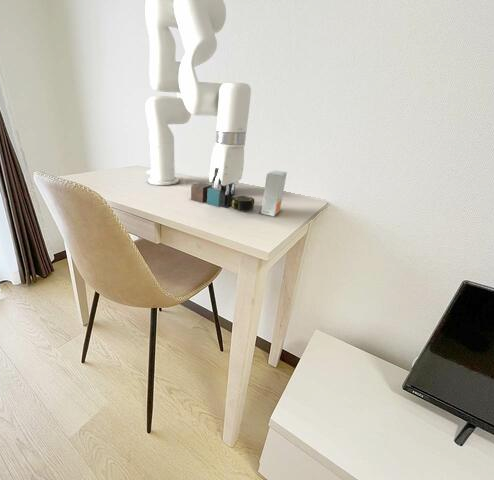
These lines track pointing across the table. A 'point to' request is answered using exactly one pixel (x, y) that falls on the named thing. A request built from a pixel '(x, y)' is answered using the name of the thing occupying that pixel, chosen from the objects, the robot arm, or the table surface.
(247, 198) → the tape measure
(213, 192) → the teal block
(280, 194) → the cosmetic box
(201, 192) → the walnut block
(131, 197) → the table surface
